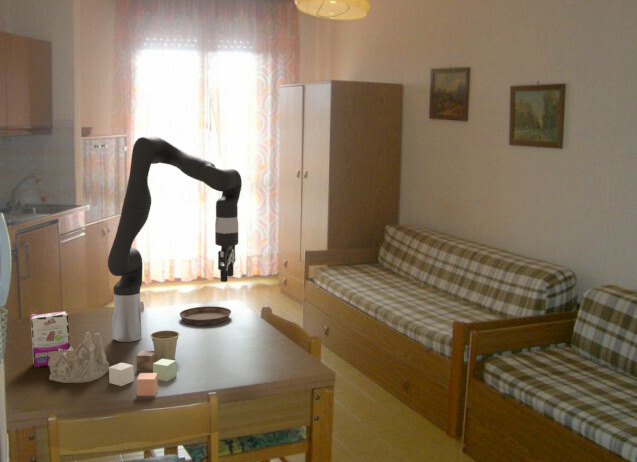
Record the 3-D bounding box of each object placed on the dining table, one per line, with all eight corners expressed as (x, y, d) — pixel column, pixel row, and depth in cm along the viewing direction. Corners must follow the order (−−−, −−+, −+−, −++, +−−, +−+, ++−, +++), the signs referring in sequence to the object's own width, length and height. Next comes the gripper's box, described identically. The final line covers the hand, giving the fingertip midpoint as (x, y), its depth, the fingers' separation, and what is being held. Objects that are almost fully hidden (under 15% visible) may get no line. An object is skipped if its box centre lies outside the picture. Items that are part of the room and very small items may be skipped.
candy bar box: (69, 358, 220) (66, 310, 217) (71, 363, 215) (68, 314, 213) (32, 363, 215) (29, 314, 212) (33, 368, 210) (31, 318, 208)
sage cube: (153, 379, 202) (153, 363, 202) (162, 373, 207) (162, 358, 206) (167, 381, 201) (167, 365, 200) (176, 376, 205) (176, 360, 204)
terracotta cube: (137, 396, 189) (136, 379, 189) (140, 389, 194) (139, 373, 193) (154, 395, 190) (154, 379, 189) (157, 389, 195) (157, 372, 194)
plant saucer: (169, 319, 268) (169, 311, 268) (212, 310, 282) (212, 303, 282) (197, 330, 253) (197, 322, 253) (241, 320, 267) (241, 312, 267)
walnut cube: (136, 370, 210) (136, 355, 209) (142, 365, 215) (141, 350, 214) (152, 371, 209) (151, 356, 208) (157, 365, 214) (156, 350, 213)
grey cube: (109, 383, 199) (108, 367, 198) (122, 377, 203) (121, 362, 202) (121, 386, 196) (120, 370, 196) (133, 381, 201) (133, 365, 200)
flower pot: (185, 356, 223) (184, 332, 221) (170, 365, 214) (169, 340, 213) (161, 353, 226) (160, 329, 224) (145, 362, 217) (144, 336, 216)
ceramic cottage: (117, 366, 213) (111, 321, 210) (89, 386, 197) (82, 338, 194) (74, 365, 216) (68, 321, 214) (43, 385, 200) (36, 338, 198)
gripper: (220, 227, 224) (221, 273, 226) (210, 233, 210) (210, 283, 212) (242, 227, 223) (242, 274, 226) (233, 234, 209) (233, 284, 212)
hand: (227, 278), depth 219 cm, fingers open, 8 cm apart
